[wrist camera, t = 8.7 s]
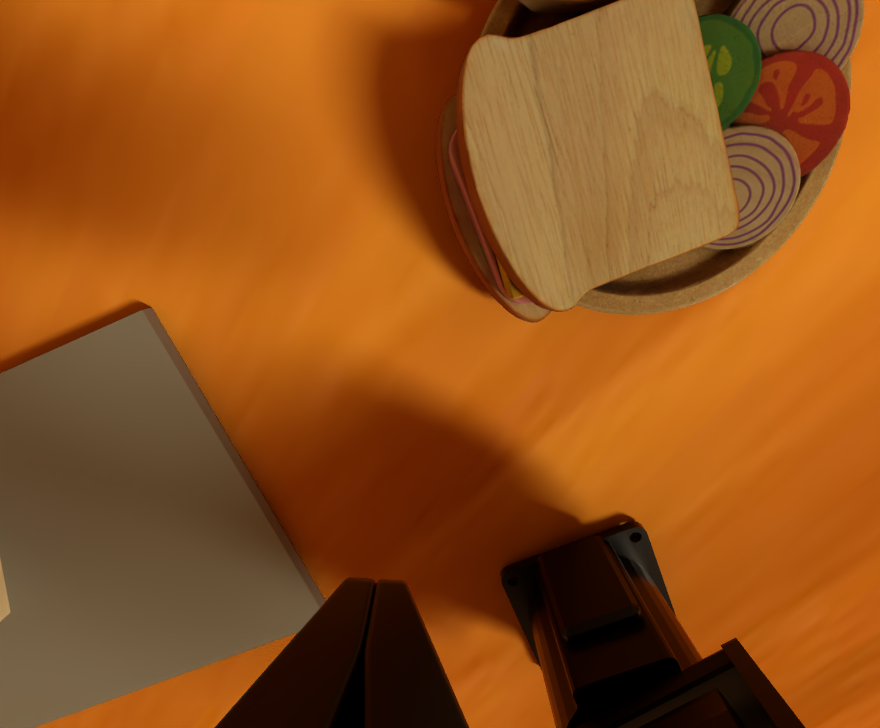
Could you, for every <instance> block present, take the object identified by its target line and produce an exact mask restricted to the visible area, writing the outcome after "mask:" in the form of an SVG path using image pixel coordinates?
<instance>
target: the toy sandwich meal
mask: <svg viewBox="0 0 880 728" xmlns="http://www.w3.org/2000/svg"><path fill="white" fill-rule="evenodd" d="M863 19H864V3H863V0H497V2H496V4H495V6H494V8H493V9H492V11H491V13H490V15H489V17H488V19H487V21H486V23H485V26H484V28H483V31H482V33H481V35H480V37H479V38H478V39H477V40H476V41H475V42H474V43H473V44H471V46H470V48H469V50H468V52H467V54H466V56H465V59H464V61H463V64H462V67H461V70H460V74H459V78H458V83H457V94H456V95H453V96H452V97H451V98H450V99H449V100H448V101H447V103H446V105H445V107H444V109H443V111H442V113H441V115H440V117H439V120H438V123H437V130H436V159H437V168H438V174H439V180H440V186H441V191H442V195H443V198H444V202H445V206H446V209H447V212H448V215H449V219H450V221H451V224H452V227H453V229H454V232H455V234H456V237H457V239H458V241H459V243H460V245H461V247H462V249H463V251H464V253H465V255H466V257H467V259H468V261H469V263H470V264H471V266H472V268H473V269H474V271H475V273H476V274H477V276H478V277H479V279H480V280H481V282H482V283H483V285H484V286H485V287H486V288H487V290H488V291H489V292H490V294H491V295H492V296H493V297H494V298H495V299H496V300H497V301H498V302H499V303H500V304H501V305H502V306H503V307H504V308H505V309H506V310H507V311H508V312H510V313H511V314H513V315H514V316H515V317H517V318H519V319H522V320H524V321H528V322H538V321H541V320H543V319H544V318H545V317H546V316H547V315H548V314H549V313H550V312H551V311H556V312H561V311H568V310H570V309H572V308H573V307H574V306H575V305H578V306H581V307H584V308H588V309H592V310H596V311H600V312H606V313H613V314H628V315H641V314H655V313H661V312H667V311H672V310H677V309H680V308H684V307H687V306H690V305H693V304H696V303H699V302H702V301H704V300H706V299H708V298H711V297H713V296H715V295H717V294H719V293H721V292H723V291H725V290H727V289H728V288H730V287H732V286H733V285H735V284H737V283H738V282H740V281H741V280H743V279H744V278H745V277H747V276H748V275H750V274H751V273H753V272H754V271H755V270H756V269H757V268H759V267H760V266H761V265H762V264H764V263H765V262H766V261H767V260H768V259H769V258H770V257H771V256H772V255H773V254H774V253H775V252H776V251H778V250H779V249H780V247H781V246H782V245H783V244H784V243H785V242H786V241H787V240H788V239H789V237H790V236H791V235H792V234H793V233H794V232H795V230H796V229H797V228H798V227H799V225H800V224H801V222H802V221H803V220H804V218H805V217H806V215H807V214H808V213H809V211H810V210H811V208H812V206H813V205H814V203H815V201H816V200H817V198H818V196H819V194H820V193H821V191H822V189H823V187H824V185H825V183H826V181H827V179H828V176H829V174H830V172H831V169H832V167H833V165H834V162H835V159H836V156H837V154H838V151H839V148H840V145H841V141H842V137H843V134H844V130H845V128H846V124H847V121H848V114H849V111H850V88H851V61H850V56H851V55H852V53H853V51H854V49H855V47H856V45H857V43H858V40H859V37H860V34H861V30H862V25H863Z"/></svg>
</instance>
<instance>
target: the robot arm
mask: <svg viewBox="0 0 880 728" xmlns="http://www.w3.org/2000/svg"><path fill="white" fill-rule="evenodd" d="M634 532H638V533H637V534H636V535H635V536H633V537H630V535H631V534H632V533H634ZM500 575H501V581H502V585H503V587H504V590H505V592H506V594H507V596H508V598H509V600H510V603H511V605H512V607H513V609H514V611H515V613H516V616H517V618H518V620H519V622H520V624H521V626H522V629H523V631H524V633H525V635H526V637H527V639H528V642H529V644H530V646H531V648H532V650H533V652H534V655H535V657H536V659H537V661H538V663H539V666H540V668H541V670H542V673H543V677H544V681H545V685H546V689H547V693H548V697H549V701H550V705H551V709H552V713H553V717H554V721H555V725H556V728H805V727H804V725H803V724H802V723H801V721H800V720H799V719H798V718H797V716H796V715H795V714H794V712H793V711H792V710H791V709H790V707H789V706H788V705H787V703H786V702H785V701H784V699H783V698H782V697H781V696H780V694H779V693H778V692H777V690H776V689H775V688H774V687H773V685H772V684H771V683H770V681H769V680H768V679H767V677H766V676H765V675H764V674H763V672H762V671H761V670H760V668H759V667H758V666H757V664H756V663H755V662H754V661H753V659H752V658H751V657H750V655H749V654H748V653H747V652H746V650H745V649H744V648H743V646H742V645H741V644H740V642H739V641H738V640H737V639H736V638H734V639H732V640H730V641H728V642H726V643H724V644H723V645H721V647H722V648H723V649H721V650H719V651H717V652H715V653H714V654H712V655H710V656H708V657H706V658H704V659H702V657H701V656H700V654H699V653H698V651H697V650H696V648H695V646H694V645H693V643H692V642H691V640H690V638H689V637H688V635H687V634H686V632H685V630H684V629H683V627H682V626H681V624H680V623H679V621H678V619H677V618H676V615H675V612H674V609H673V607H672V604H671V601H670V598H669V595H668V592H667V589H666V586H665V584H664V581H663V578H662V575H661V572H660V569H659V566H658V563H657V560H656V558H655V555H654V552H653V549H652V546H651V543H650V540H649V537H648V534H647V532H646V531H645V529H644V528H643V527H642V525H641V524H640V523H638V522H628V523H625V524H622V525H620V526H617V527H614V528H611V529H608V530H606V531H603V532H600V533H597V534H594V535H592V536H589V537H586V538H583V539H581V540H578V541H575V542H572V543H569V544H567V545H564V546H561V547H558V548H555V549H553V550H550V551H547V552H544V553H542V554H539V555H536V556H533V557H530V558H528V559H525V560H522V561H519V562H516V563H514V564H511V565H508V566H506V567H504V568H503V570H502V571H501V574H500ZM511 576H516V578H515V579H508V578H509V577H511ZM215 728H469V726H468V724H467V722H466V719H465V717H464V715H463V712H462V710H461V708H460V706H459V703H458V701H457V699H456V696H455V694H454V692H453V689H452V687H451V685H450V682H449V680H448V678H447V675H446V673H445V671H444V669H443V666H442V664H441V662H440V659H439V657H438V655H437V652H436V650H435V648H434V645H433V643H432V641H431V638H430V636H429V634H428V632H427V629H426V627H425V625H424V622H423V620H422V618H421V615H420V613H419V611H418V608H417V606H416V604H415V601H414V599H413V597H412V595H411V592H410V590H409V588H408V586H407V584H406V583H405V582H404V581H398V580H383V579H382V580H379V581H378V582H377V583H375V581H374V580H373V579H368V578H353V577H350V578H347V579H345V580H344V581H343V582H342V584H341V585H340V586H339V587H338V588H337V589H336V590H335V591H334V593H333V594H332V595H331V596H330V597H329V598H328V599H327V601H326V602H325V603H324V604H323V605H322V606H321V607H320V609H319V610H318V611H317V612H316V613H315V614H314V615H313V616H312V618H311V619H310V620H309V621H308V622H307V623H306V624H305V626H304V627H303V628H302V629H301V630H300V631H299V632H298V634H297V635H296V636H295V637H294V638H293V639H292V640H291V641H290V643H289V644H288V645H287V646H286V647H285V648H284V649H283V651H282V652H281V653H280V654H279V655H278V656H277V657H276V659H275V660H274V661H273V662H272V663H271V664H270V665H269V666H268V668H267V669H266V670H265V671H264V672H263V673H262V674H261V676H260V677H259V678H258V679H257V680H256V681H255V682H254V684H253V685H252V686H251V687H250V688H249V689H248V690H247V691H246V693H245V694H244V695H243V696H242V697H241V698H240V699H239V701H238V702H237V703H236V704H235V705H234V706H233V707H232V708H231V710H230V711H229V712H228V713H227V714H226V715H225V716H224V718H223V719H222V720H221V721H220V722H219V723H218V724H217V726H216V727H215Z"/></svg>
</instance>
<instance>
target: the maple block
mask: <svg viewBox="0 0 880 728" xmlns="http://www.w3.org/2000/svg"><path fill="white" fill-rule="evenodd" d="M9 613H11V612H10V607H9V602H8V596H7V591H6V586H5V580H4V575H3V570H2V564H1V559H0V621H2V620H3V619H4V618H5V617H6V616H7V615H8V614H9Z"/></svg>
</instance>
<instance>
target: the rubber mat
mask: <svg viewBox="0 0 880 728" xmlns="http://www.w3.org/2000/svg"><path fill="white" fill-rule="evenodd" d="M0 559H1V564H2V570H3V575H4V580H5V586H6V591H7V596H8V602H9V607H10V612H11V613H9V614H8V615H7V616H6V617H5V618H4V619H3V620H2V621H0V728H34V727H37V726H40V725H43V724H45V723H48V722H51V721H54V720H56V719H59V718H62V717H65V716H68V715H70V714H73V713H76V712H79V711H81V710H84V709H87V708H90V707H92V706H95V705H98V704H101V703H104V702H106V701H109V700H112V699H115V698H117V697H120V696H123V695H126V694H128V693H131V692H134V691H137V690H140V689H142V688H145V687H148V686H151V685H153V684H156V683H159V682H162V681H165V680H167V679H170V678H173V677H176V676H178V675H181V674H184V673H187V672H189V671H192V670H195V669H198V668H201V667H203V666H206V665H209V664H212V663H214V662H217V661H220V660H223V659H225V658H228V657H231V656H234V655H237V654H239V653H242V652H245V651H248V650H250V649H253V648H256V647H259V646H261V645H264V644H267V643H270V642H273V641H275V640H278V639H281V638H284V637H286V636H289V635H292V634H295V633H297V632H299V631H300V630H301V629H302V628H303V627H304V626H305V624H306V623H307V622H308V621H309V620H310V619H311V618H312V616H313V615H314V614H315V613H316V612H317V611H318V610H319V609H320V607H321V606H322V605H323V604H324V603H325V602H326V601H325V600H324V598H323V596H322V595H321V593H320V591H319V590H318V588H317V586H316V585H315V583H314V581H313V579H312V578H311V576H310V574H309V573H308V571H307V569H306V568H305V566H304V564H303V563H302V561H301V559H300V557H299V556H298V554H297V552H296V551H295V549H294V547H293V546H292V544H291V542H290V541H289V539H288V537H287V535H286V534H285V532H284V530H283V529H282V527H281V525H280V524H279V522H278V520H277V519H276V517H275V515H274V514H273V512H272V510H271V508H270V507H269V505H268V503H267V502H266V500H265V498H264V497H263V495H262V493H261V492H260V490H259V488H258V486H257V485H256V483H255V481H254V480H253V478H252V476H251V475H250V473H249V471H248V470H247V468H246V466H245V464H244V463H243V461H242V459H241V458H240V456H239V454H238V453H237V451H236V449H235V448H234V446H233V444H232V442H231V441H230V439H229V437H228V436H227V434H226V432H225V431H224V429H223V427H222V426H221V424H220V422H219V420H218V419H217V417H216V415H215V414H214V412H213V410H212V409H211V407H210V405H209V404H208V402H207V400H206V399H205V397H204V395H203V393H202V392H201V390H200V388H199V387H198V385H197V383H196V382H195V380H194V378H193V377H192V375H191V373H190V371H189V370H188V368H187V366H186V365H185V363H184V361H183V360H182V358H181V356H180V355H179V353H178V351H177V349H176V348H175V346H174V344H173V343H172V341H171V339H170V338H169V336H168V334H167V333H166V331H165V329H164V327H163V326H162V324H161V322H160V321H159V319H158V317H157V316H156V314H155V312H154V311H153V309H152V307H151V308H147V309H144V310H141V311H138V312H136V313H134V314H132V315H130V316H127V317H125V318H123V319H121V320H118V321H116V322H114V323H112V324H109V325H107V326H105V327H103V328H101V329H98V330H96V331H94V332H92V333H89V334H87V335H85V336H83V337H80V338H78V339H76V340H74V341H72V342H69V343H67V344H65V345H63V346H60V347H58V348H56V349H54V350H51V351H49V352H47V353H45V354H43V355H40V356H38V357H36V358H34V359H31V360H29V361H27V362H25V363H22V364H20V365H18V366H16V367H14V368H11V369H9V370H7V371H5V372H2V373H0Z"/></svg>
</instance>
